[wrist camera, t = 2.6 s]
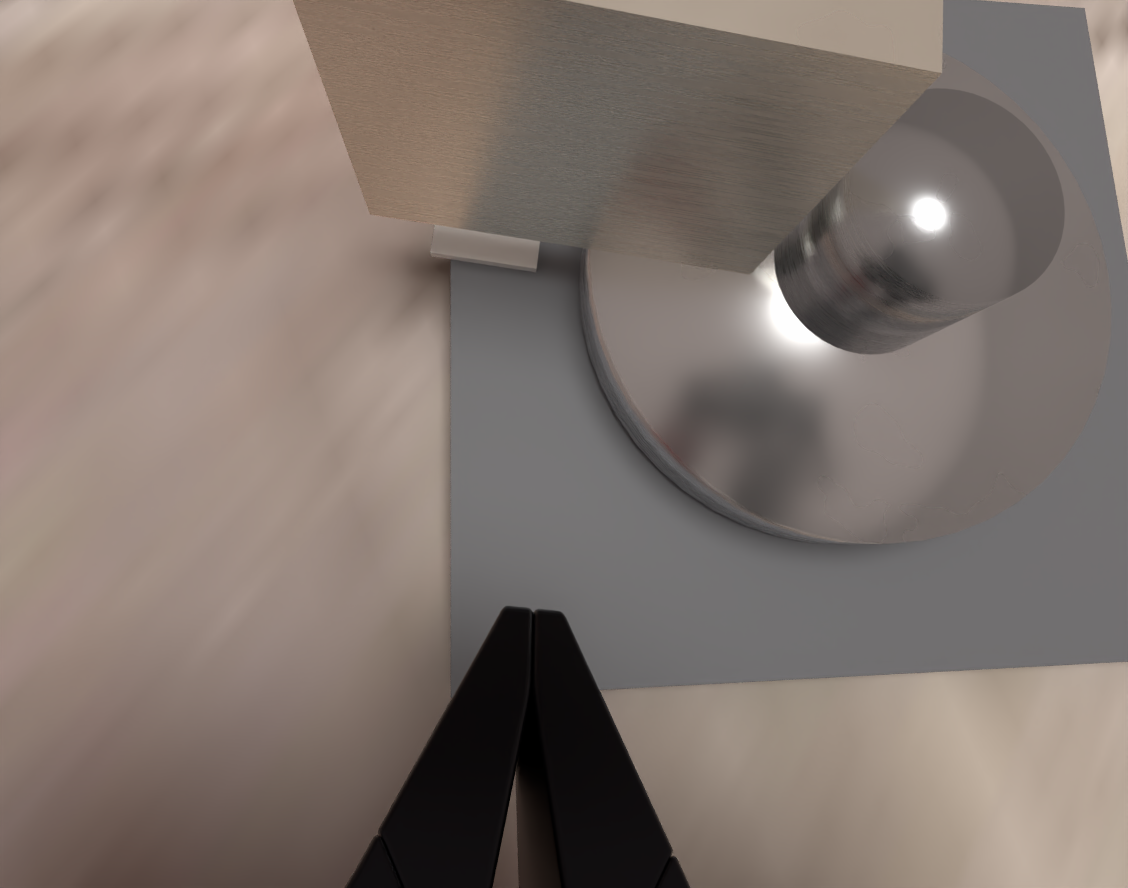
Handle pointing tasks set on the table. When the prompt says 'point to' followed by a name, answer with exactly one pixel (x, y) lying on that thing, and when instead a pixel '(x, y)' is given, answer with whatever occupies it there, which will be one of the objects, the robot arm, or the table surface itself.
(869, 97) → the dial
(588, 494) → the panel
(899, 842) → the table surface
